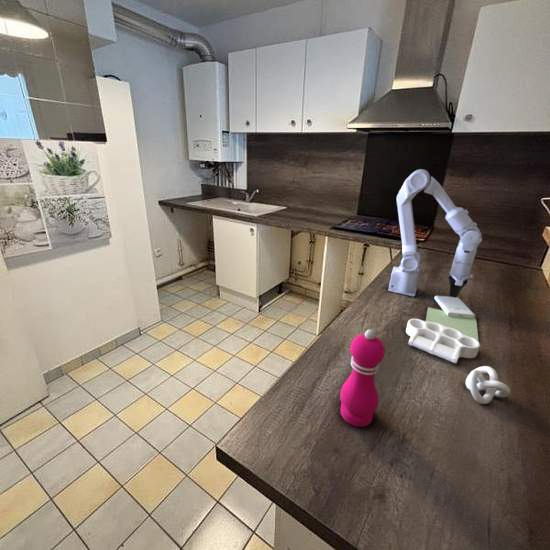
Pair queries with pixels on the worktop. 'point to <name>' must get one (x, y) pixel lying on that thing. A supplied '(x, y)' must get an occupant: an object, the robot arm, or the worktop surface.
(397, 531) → the worktop surface
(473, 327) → the mat
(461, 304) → the hard drive
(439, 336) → the white brass knuckles
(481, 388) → the knot
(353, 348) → the pepper mill
